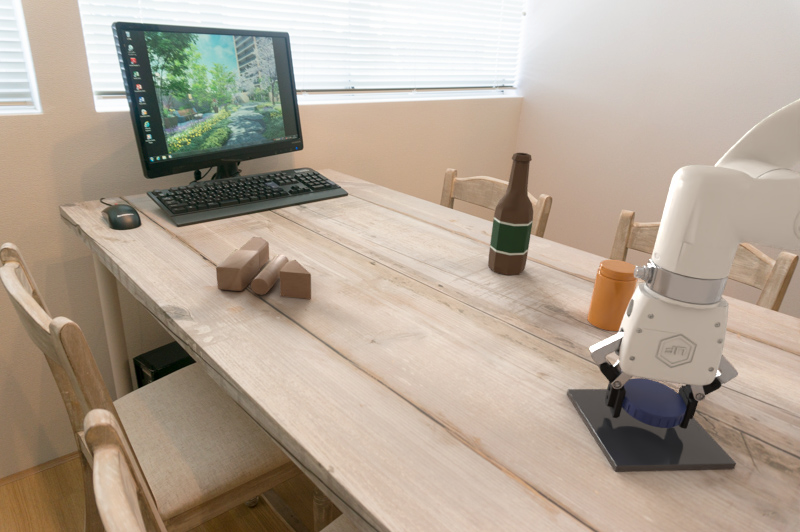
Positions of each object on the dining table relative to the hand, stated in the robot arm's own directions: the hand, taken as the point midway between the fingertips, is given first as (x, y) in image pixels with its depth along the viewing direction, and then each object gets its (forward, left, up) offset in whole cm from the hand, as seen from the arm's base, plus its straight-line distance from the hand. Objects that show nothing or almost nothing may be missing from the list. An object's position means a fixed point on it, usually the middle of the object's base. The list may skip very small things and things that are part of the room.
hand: (646, 415), depth 64 cm
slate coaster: (0, 0, -2) cm, 2 cm away
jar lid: (0, +1, +3) cm, 3 cm away
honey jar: (-1, -29, -2) cm, 29 cm away
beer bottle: (+16, -48, -2) cm, 51 cm away
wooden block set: (+59, -30, -2) cm, 66 cm away
